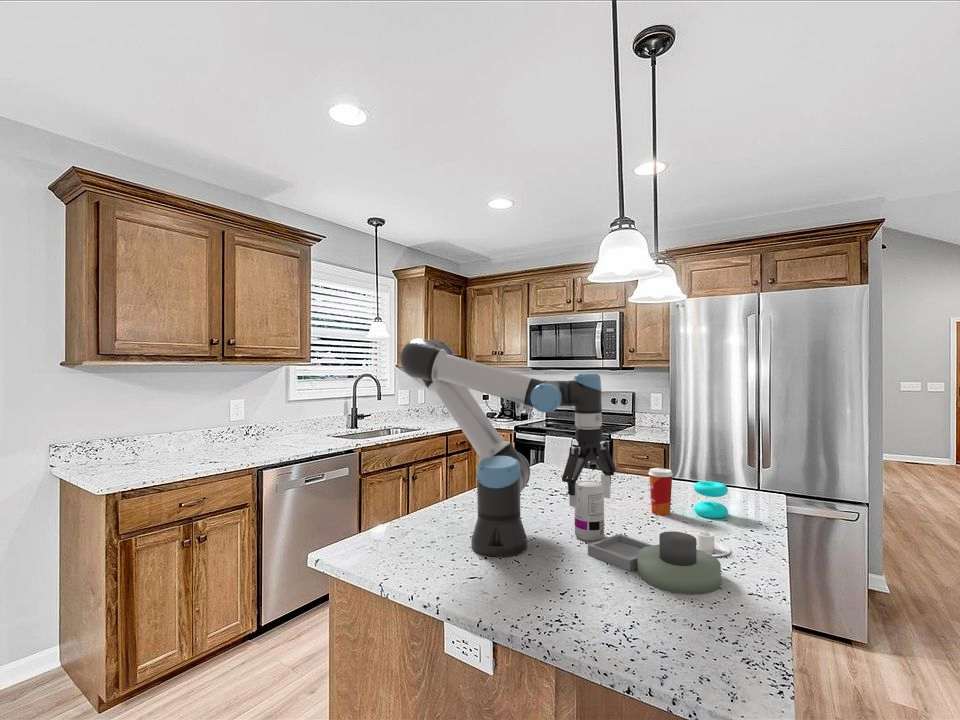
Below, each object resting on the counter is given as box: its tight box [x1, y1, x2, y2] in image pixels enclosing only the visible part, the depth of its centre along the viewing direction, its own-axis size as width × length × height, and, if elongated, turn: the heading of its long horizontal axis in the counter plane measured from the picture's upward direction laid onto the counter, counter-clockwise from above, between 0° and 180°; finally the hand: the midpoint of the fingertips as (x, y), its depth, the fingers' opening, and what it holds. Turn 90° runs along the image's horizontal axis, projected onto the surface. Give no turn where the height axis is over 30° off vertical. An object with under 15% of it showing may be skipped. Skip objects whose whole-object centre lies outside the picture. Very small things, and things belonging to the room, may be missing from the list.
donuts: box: [693, 480, 729, 519], centre depth 161 cm, size 10×10×10 cm
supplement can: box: [574, 480, 605, 542], centre depth 142 cm, size 8×8×15 cm
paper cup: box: [647, 467, 674, 516], centre depth 163 cm, size 8×8×14 cm
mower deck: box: [587, 530, 722, 595], centre depth 121 cm, size 18×30×9 cm, turn 37°
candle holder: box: [696, 530, 731, 558], centre depth 133 cm, size 12×12×4 cm
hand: (590, 502), depth 142 cm, fingers open, 13 cm apart
